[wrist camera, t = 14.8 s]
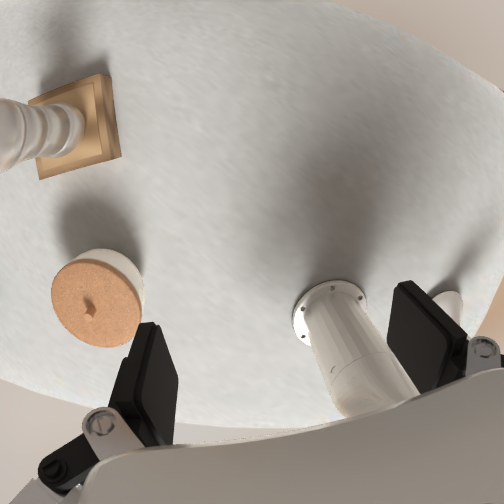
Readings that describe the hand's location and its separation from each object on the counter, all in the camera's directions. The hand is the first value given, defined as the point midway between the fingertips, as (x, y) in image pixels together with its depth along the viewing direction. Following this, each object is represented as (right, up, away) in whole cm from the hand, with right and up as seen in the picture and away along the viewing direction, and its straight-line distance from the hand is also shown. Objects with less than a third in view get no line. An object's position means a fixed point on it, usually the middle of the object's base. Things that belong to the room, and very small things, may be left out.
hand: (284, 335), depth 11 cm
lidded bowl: (-22, 0, +31) cm, 38 cm away
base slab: (-24, +20, +22) cm, 38 cm away
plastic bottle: (-23, +18, +19) cm, 35 cm away
